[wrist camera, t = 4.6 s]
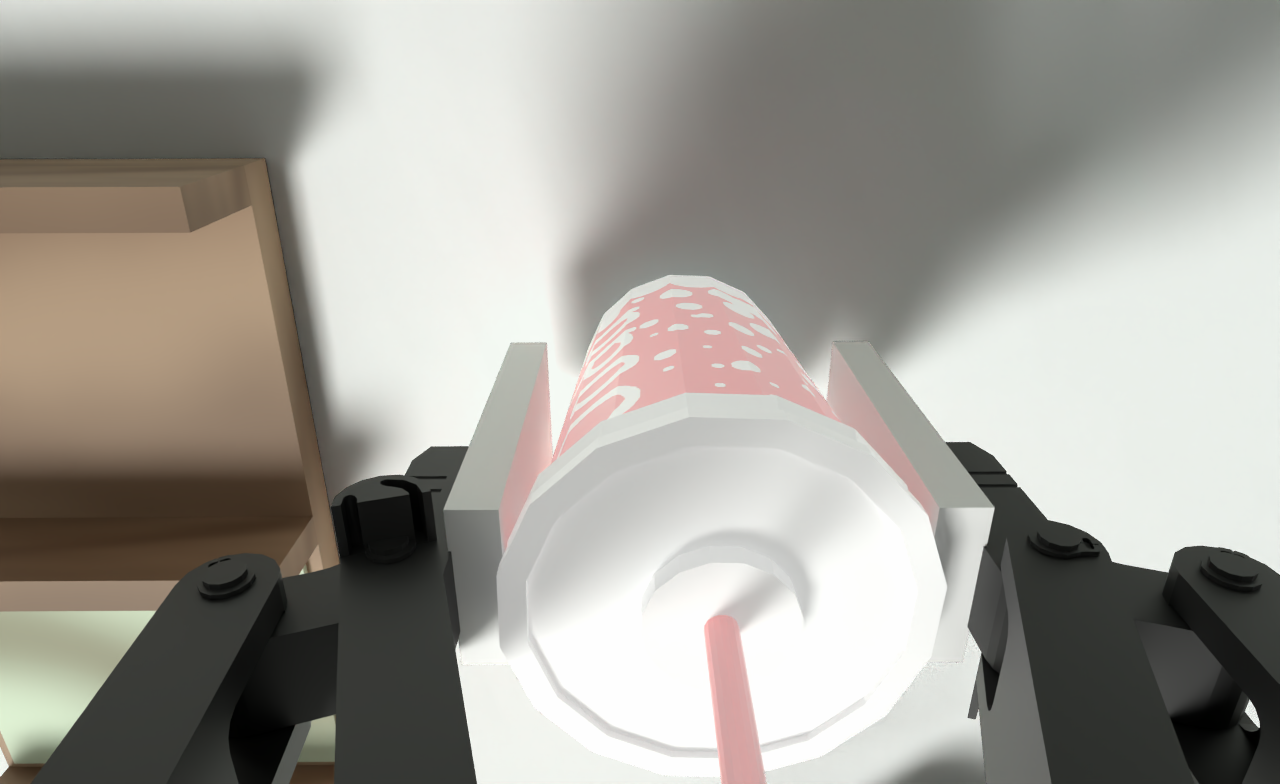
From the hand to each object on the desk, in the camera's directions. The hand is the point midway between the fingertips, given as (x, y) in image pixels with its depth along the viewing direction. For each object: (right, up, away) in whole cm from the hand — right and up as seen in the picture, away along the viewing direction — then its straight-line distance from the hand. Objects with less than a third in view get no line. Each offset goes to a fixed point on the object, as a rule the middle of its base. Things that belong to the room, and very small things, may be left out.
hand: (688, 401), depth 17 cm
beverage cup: (0, +1, +2) cm, 2 cm away
